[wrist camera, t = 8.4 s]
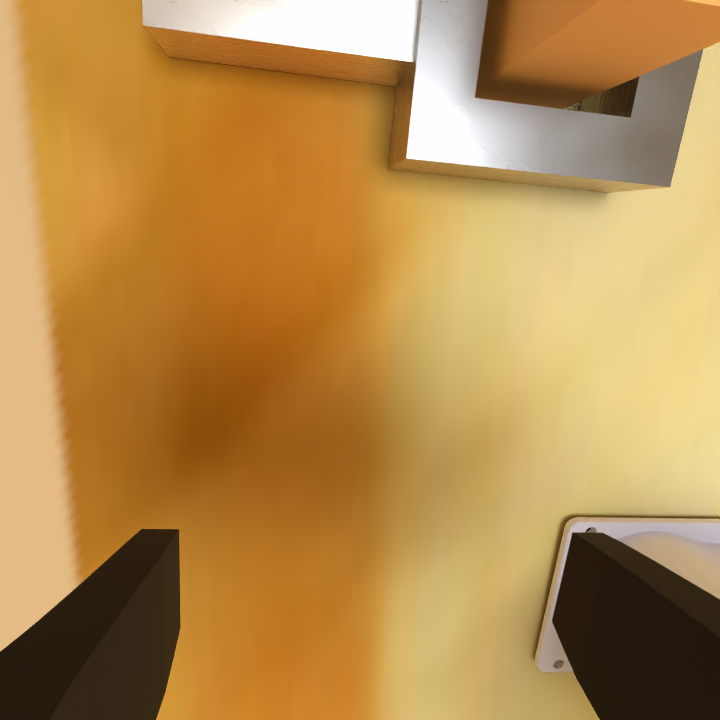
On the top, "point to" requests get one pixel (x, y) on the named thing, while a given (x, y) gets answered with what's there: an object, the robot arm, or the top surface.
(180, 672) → the top surface
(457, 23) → the bracket
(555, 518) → the top surface
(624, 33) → the square peg
